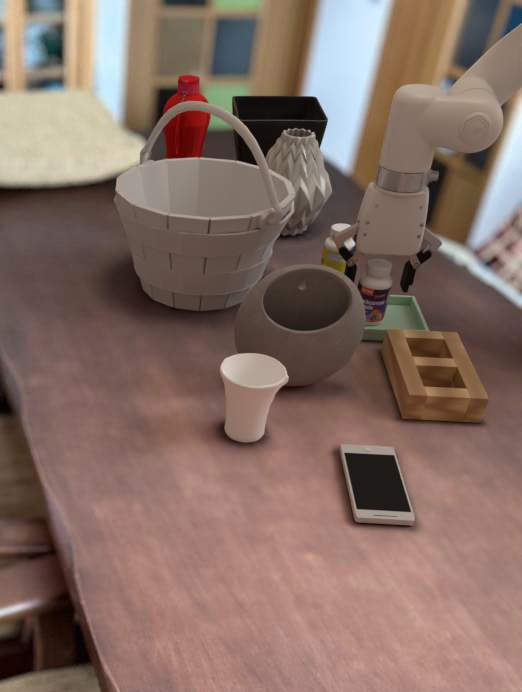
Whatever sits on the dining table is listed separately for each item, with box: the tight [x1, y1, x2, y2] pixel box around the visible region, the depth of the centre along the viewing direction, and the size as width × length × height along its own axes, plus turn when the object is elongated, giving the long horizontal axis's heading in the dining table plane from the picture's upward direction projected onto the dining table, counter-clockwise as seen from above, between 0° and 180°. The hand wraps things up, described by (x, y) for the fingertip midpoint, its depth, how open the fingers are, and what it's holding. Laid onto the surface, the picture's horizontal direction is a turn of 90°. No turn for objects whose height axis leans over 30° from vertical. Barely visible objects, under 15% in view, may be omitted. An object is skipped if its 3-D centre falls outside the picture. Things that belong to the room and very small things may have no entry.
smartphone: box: [339, 443, 416, 526], centre depth 105 cm, size 7×16×1 cm, turn 176°
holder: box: [380, 329, 490, 424], centre depth 123 cm, size 11×20×4 cm, turn 176°
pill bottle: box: [356, 258, 394, 326], centre depth 136 cm, size 5×5×10 cm
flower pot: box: [231, 95, 329, 166], centre depth 183 cm, size 19×19×17 cm
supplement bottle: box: [320, 223, 356, 274], centre depth 149 cm, size 5×5×10 cm
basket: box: [113, 101, 296, 312], centre depth 139 cm, size 31×35×30 cm
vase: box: [265, 128, 333, 237], centre depth 164 cm, size 16×16×18 cm
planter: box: [233, 263, 366, 387], centre depth 118 cm, size 18×7×19 cm, turn 87°
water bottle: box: [162, 74, 212, 159], centre depth 171 cm, size 9×11×25 cm
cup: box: [219, 353, 289, 443], centre depth 111 cm, size 9×9×10 cm
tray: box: [361, 294, 430, 342], centre depth 139 cm, size 17×13×2 cm
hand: (376, 287), depth 136 cm, fingers open, 8 cm apart
